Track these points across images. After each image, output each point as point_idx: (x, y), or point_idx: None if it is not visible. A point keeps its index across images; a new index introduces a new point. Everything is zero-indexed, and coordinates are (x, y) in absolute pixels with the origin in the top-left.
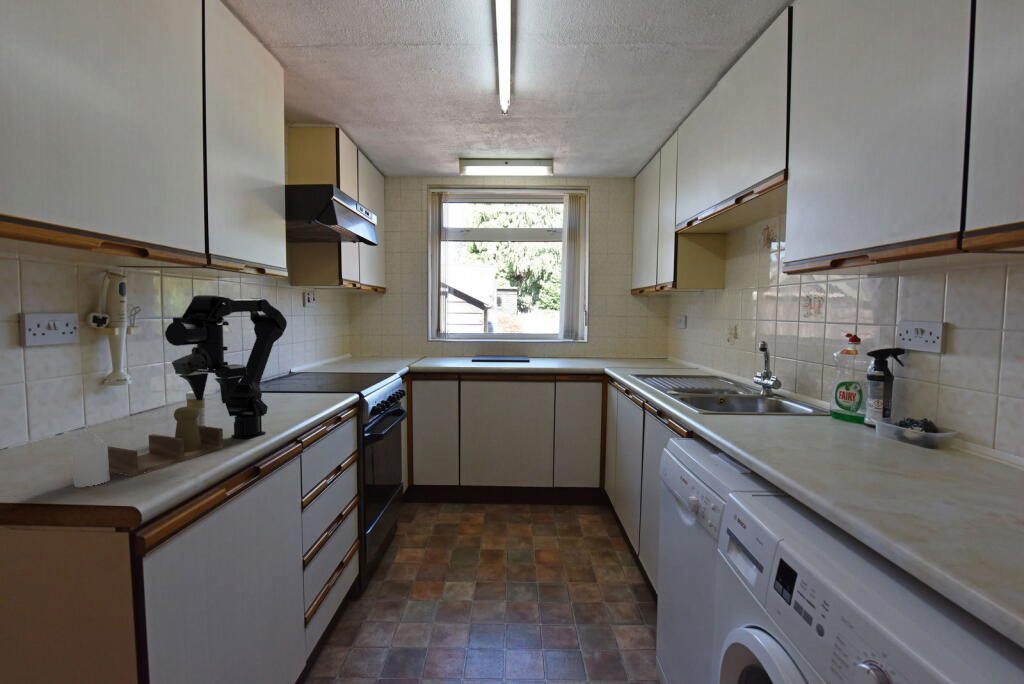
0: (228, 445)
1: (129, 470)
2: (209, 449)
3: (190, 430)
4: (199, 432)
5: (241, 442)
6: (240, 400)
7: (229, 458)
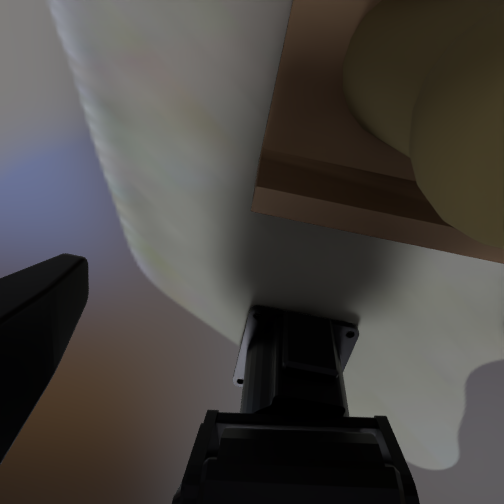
0: None
1: None
2: (276, 85)
3: (404, 50)
4: None
5: (247, 264)
6: (263, 498)
7: (79, 4)
